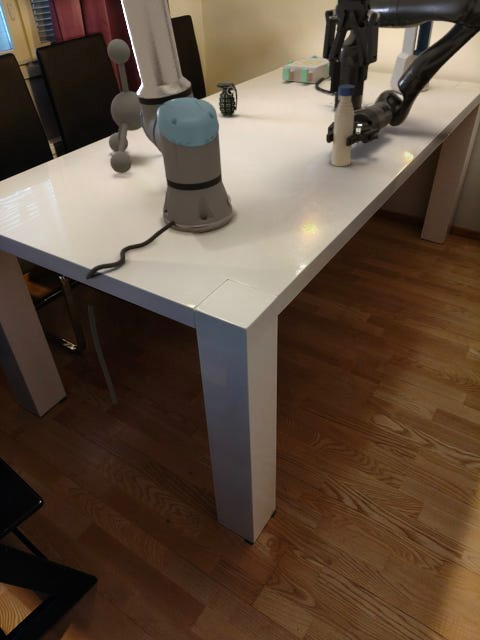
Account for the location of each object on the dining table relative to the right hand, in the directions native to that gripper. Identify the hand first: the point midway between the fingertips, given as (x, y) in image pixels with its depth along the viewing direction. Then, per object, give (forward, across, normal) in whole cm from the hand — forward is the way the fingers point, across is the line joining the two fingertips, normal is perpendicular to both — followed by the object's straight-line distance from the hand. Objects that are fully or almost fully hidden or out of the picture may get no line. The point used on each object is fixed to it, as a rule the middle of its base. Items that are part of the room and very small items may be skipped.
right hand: (337, 140), depth 124 cm
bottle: (-3, 0, +7) cm, 7 cm away
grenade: (-24, -55, +7) cm, 60 cm away
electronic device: (-82, -13, +7) cm, 84 cm away
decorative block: (-86, -58, +7) cm, 104 cm away
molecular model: (+21, -49, +7) cm, 54 cm away
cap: (-3, 0, -12) cm, 12 cm away
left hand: (-3, 0, -11) cm, 11 cm away
